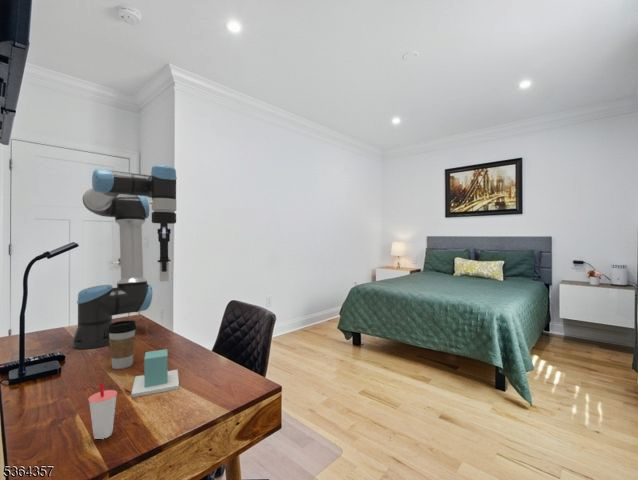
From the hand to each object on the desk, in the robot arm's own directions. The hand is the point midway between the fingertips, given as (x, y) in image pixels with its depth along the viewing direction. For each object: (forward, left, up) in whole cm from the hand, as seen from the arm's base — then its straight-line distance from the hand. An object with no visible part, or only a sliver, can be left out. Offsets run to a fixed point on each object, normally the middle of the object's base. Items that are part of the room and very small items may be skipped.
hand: (164, 280), depth 107 cm
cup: (+35, -12, -30) cm, 47 cm away
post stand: (+13, -2, -29) cm, 32 cm away
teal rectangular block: (+13, -2, -28) cm, 31 cm away
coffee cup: (-7, -13, -30) cm, 33 cm away
